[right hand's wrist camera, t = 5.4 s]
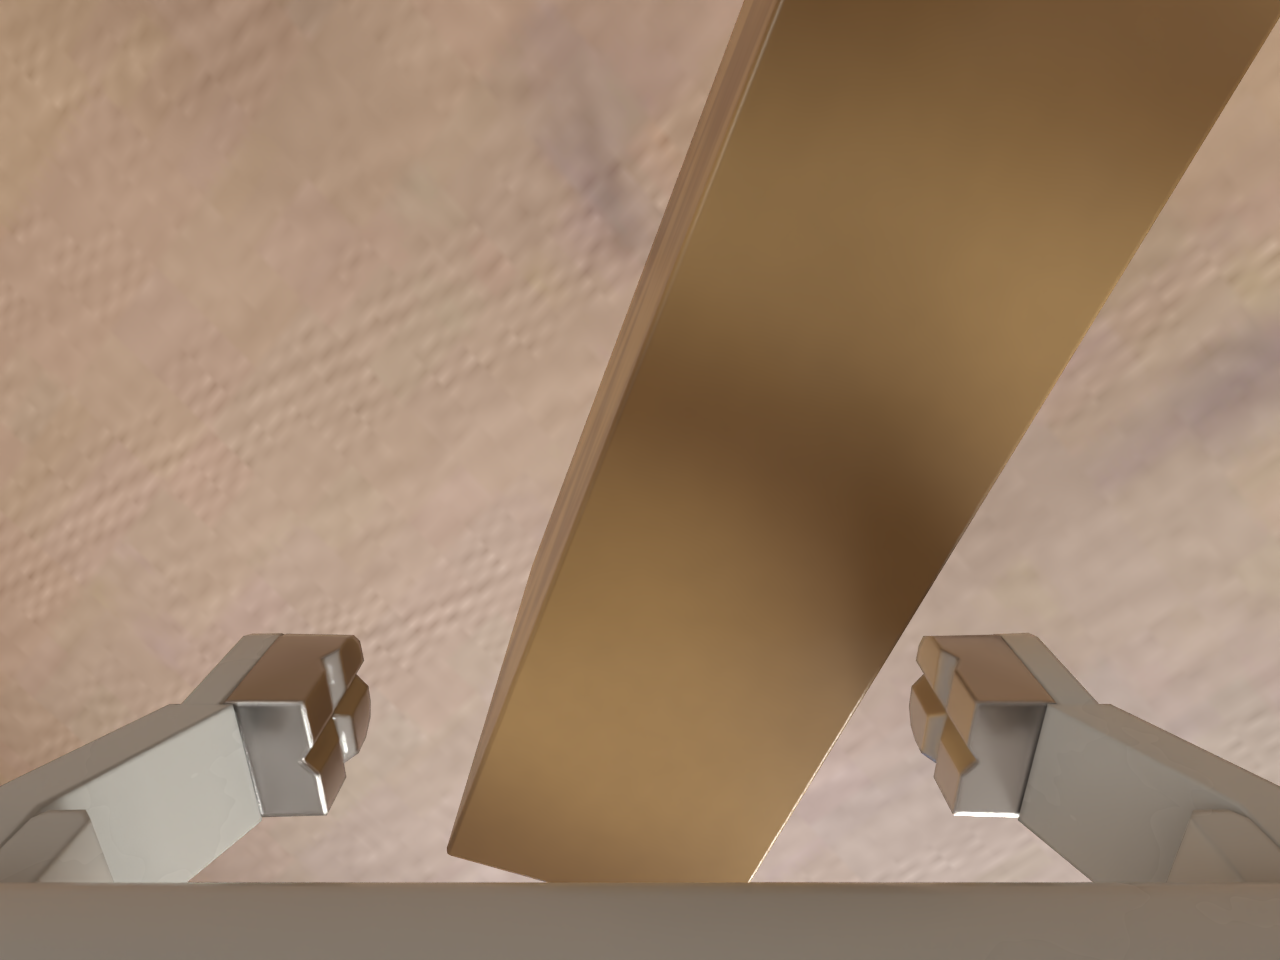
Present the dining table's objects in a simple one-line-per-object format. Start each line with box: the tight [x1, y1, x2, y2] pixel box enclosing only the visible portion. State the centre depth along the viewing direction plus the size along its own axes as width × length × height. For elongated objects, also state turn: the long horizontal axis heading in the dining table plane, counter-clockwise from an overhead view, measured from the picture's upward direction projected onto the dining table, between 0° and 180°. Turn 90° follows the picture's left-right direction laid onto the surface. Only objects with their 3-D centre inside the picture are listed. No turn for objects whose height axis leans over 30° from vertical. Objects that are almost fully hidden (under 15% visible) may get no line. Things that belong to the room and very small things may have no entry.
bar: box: [447, 0, 1280, 883], centre depth 11 cm, size 22×4×9 cm, turn 159°
